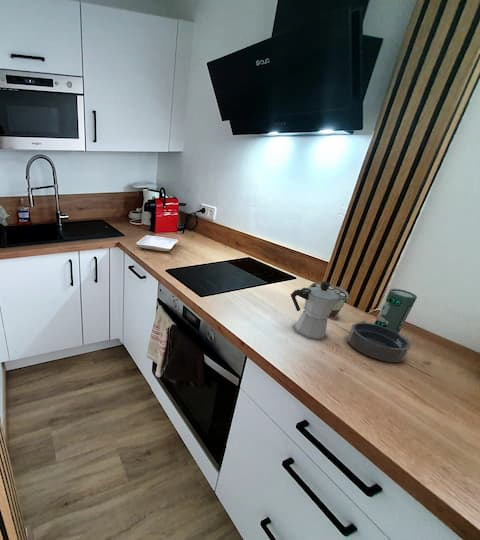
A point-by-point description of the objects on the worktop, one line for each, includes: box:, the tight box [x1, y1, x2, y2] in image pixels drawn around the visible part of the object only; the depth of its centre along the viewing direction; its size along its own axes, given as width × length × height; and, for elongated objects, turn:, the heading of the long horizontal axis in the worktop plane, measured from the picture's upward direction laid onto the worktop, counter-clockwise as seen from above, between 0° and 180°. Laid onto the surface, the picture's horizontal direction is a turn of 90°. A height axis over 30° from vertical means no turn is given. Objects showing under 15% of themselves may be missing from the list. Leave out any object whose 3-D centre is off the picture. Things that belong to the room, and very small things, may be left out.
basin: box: [346, 322, 411, 363], centre depth 86 cm, size 13×13×5 cm
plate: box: [135, 234, 180, 252], centre depth 171 cm, size 21×21×3 cm
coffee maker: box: [290, 281, 345, 341], centre depth 91 cm, size 15×9×18 cm, turn 76°
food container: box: [309, 282, 350, 321], centre depth 105 cm, size 12×6×10 cm, turn 34°
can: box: [374, 288, 418, 334], centre depth 92 cm, size 6×6×15 cm
